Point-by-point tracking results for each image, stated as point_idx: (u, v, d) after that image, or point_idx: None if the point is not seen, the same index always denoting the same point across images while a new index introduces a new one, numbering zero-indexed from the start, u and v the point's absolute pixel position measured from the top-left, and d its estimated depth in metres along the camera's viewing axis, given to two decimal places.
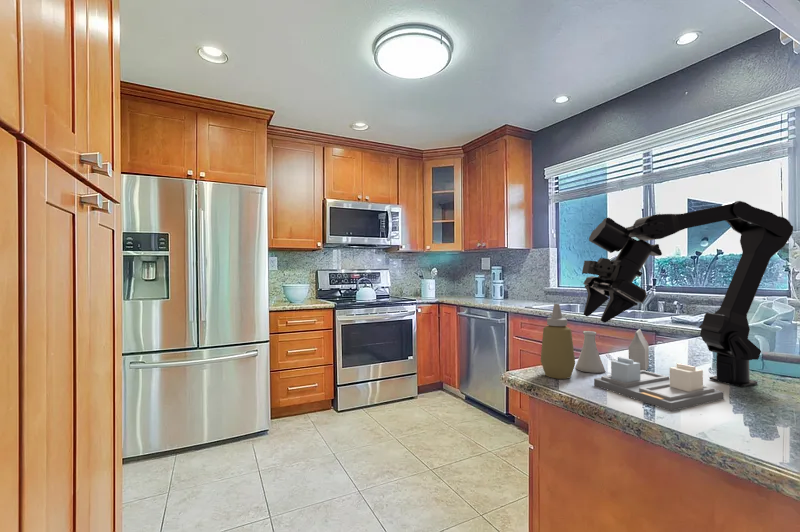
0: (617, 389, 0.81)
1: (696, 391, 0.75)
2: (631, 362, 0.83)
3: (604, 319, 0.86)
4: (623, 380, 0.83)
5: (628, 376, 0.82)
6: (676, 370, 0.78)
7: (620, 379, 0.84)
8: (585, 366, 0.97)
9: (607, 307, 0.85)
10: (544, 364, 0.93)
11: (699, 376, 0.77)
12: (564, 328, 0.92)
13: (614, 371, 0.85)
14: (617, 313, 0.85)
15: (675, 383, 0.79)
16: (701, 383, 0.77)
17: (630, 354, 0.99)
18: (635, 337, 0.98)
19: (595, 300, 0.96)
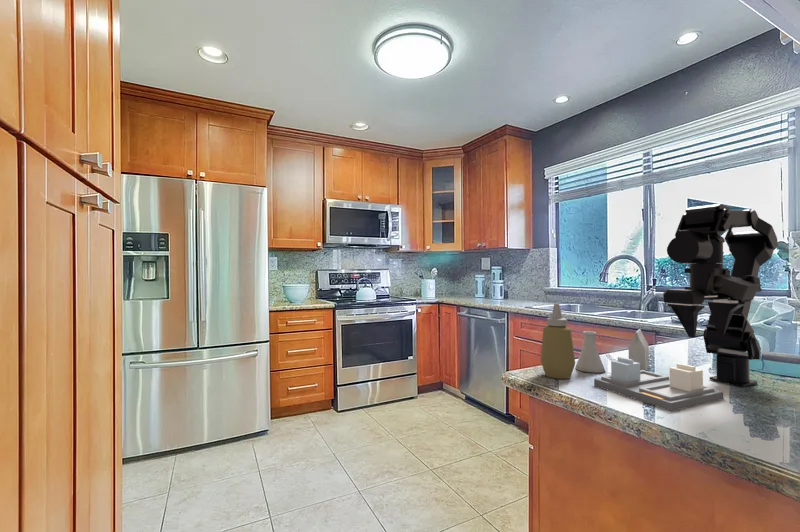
0: (617, 389, 0.81)
1: (696, 391, 0.75)
2: (631, 362, 0.83)
3: None
4: (623, 380, 0.83)
5: (628, 376, 0.82)
6: (676, 370, 0.78)
7: (620, 379, 0.84)
8: (585, 366, 0.97)
9: (728, 320, 0.82)
10: (544, 364, 0.93)
11: (699, 376, 0.77)
12: (564, 328, 0.92)
13: (614, 371, 0.85)
14: None
15: (675, 383, 0.79)
16: (701, 383, 0.77)
17: (630, 354, 0.99)
18: (635, 337, 0.98)
19: None
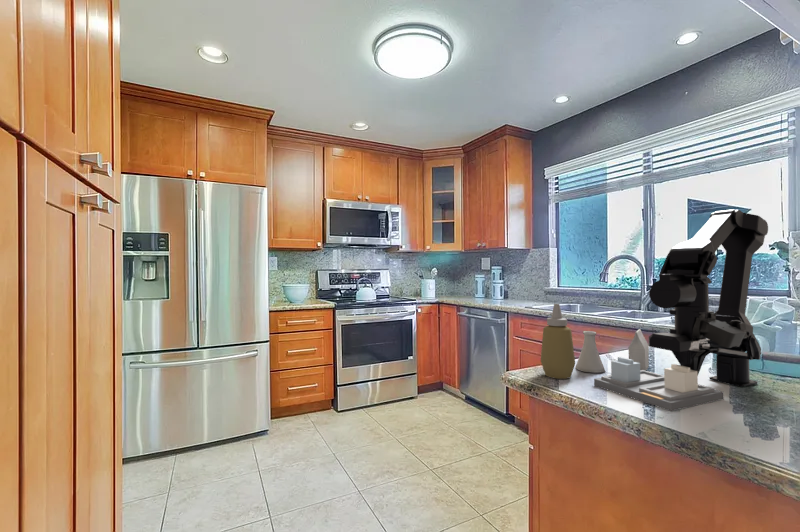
0: (617, 389, 0.81)
1: (696, 391, 0.75)
2: (631, 362, 0.83)
3: None
4: (623, 380, 0.83)
5: (628, 376, 0.82)
6: (671, 371, 0.78)
7: (620, 379, 0.84)
8: (585, 366, 0.97)
9: (700, 365, 0.78)
10: (544, 364, 0.93)
11: (694, 377, 0.76)
12: (564, 328, 0.92)
13: (614, 371, 0.85)
14: None
15: (670, 384, 0.78)
16: (696, 384, 0.77)
17: (630, 354, 0.99)
18: (635, 337, 0.98)
19: None
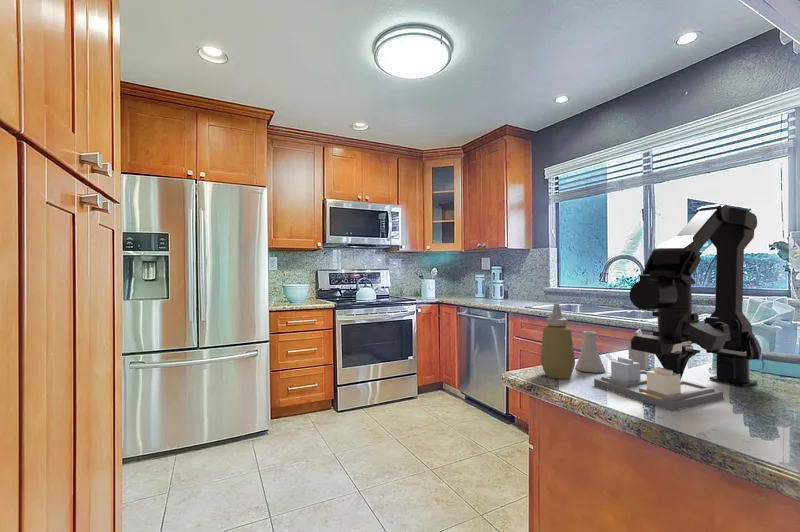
0: (617, 389, 0.81)
1: (696, 391, 0.75)
2: (631, 362, 0.83)
3: None
4: (623, 380, 0.83)
5: (628, 376, 0.82)
6: (653, 374, 0.76)
7: (620, 379, 0.84)
8: (585, 366, 0.97)
9: (683, 368, 0.76)
10: (544, 364, 0.93)
11: (677, 381, 0.74)
12: (564, 328, 0.92)
13: (614, 371, 0.85)
14: None
15: (652, 387, 0.76)
16: (678, 387, 0.75)
17: (630, 354, 0.99)
18: None
19: None
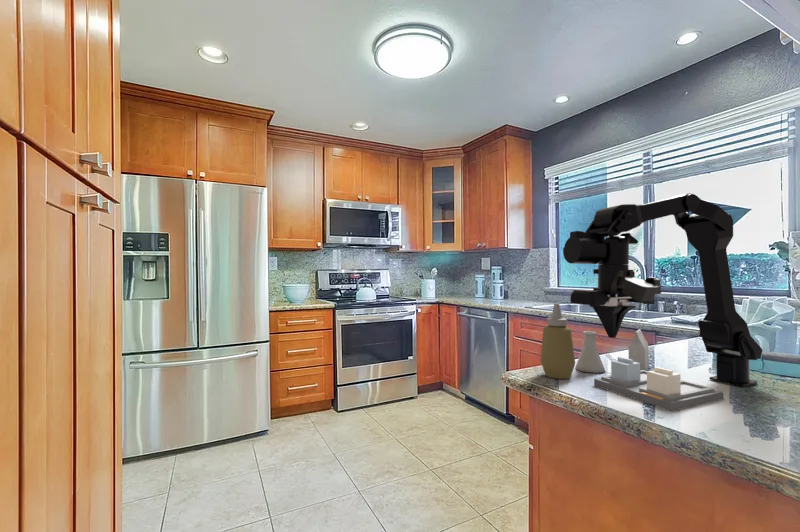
0: (617, 389, 0.81)
1: (696, 391, 0.75)
2: (631, 362, 0.83)
3: None
4: (623, 380, 0.83)
5: (628, 376, 0.82)
6: (653, 374, 0.76)
7: (620, 379, 0.84)
8: (585, 366, 0.97)
9: (620, 323, 0.80)
10: (544, 364, 0.93)
11: (677, 381, 0.74)
12: (564, 328, 0.92)
13: (614, 371, 0.85)
14: None
15: (652, 387, 0.76)
16: (678, 387, 0.75)
17: (630, 354, 0.99)
18: (635, 337, 0.99)
19: None
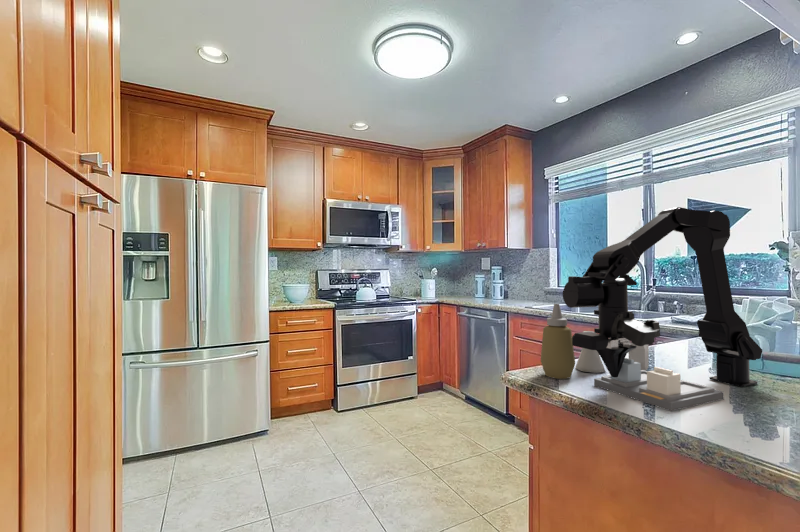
0: (617, 389, 0.81)
1: (696, 391, 0.75)
2: (631, 362, 0.83)
3: None
4: (623, 380, 0.83)
5: (629, 376, 0.82)
6: (653, 374, 0.76)
7: (620, 379, 0.84)
8: (585, 365, 0.97)
9: (621, 362, 0.83)
10: (544, 364, 0.93)
11: (677, 381, 0.74)
12: (564, 328, 0.92)
13: None
14: None
15: (652, 387, 0.76)
16: (678, 387, 0.75)
17: (630, 354, 0.99)
18: None
19: None
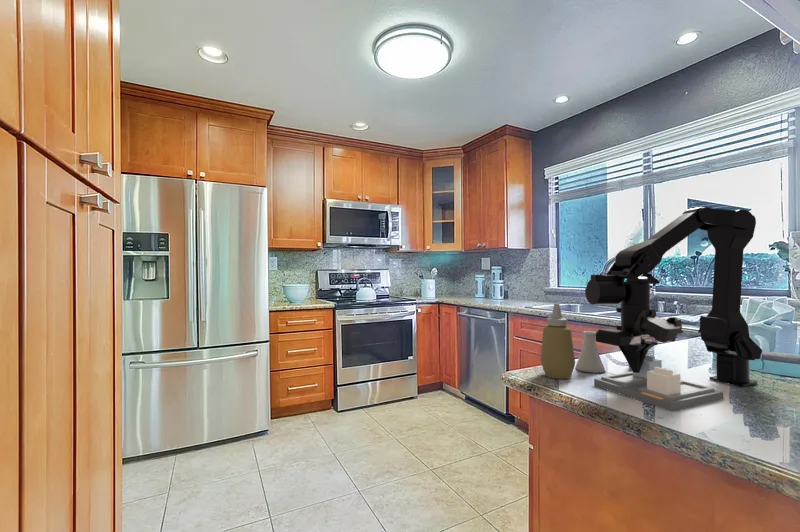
0: (617, 389, 0.81)
1: (696, 391, 0.75)
2: (653, 359, 0.86)
3: None
4: (645, 376, 0.86)
5: None
6: (653, 374, 0.76)
7: (642, 375, 0.86)
8: (585, 365, 0.97)
9: (643, 358, 0.85)
10: (544, 364, 0.93)
11: (677, 381, 0.74)
12: (564, 328, 0.92)
13: None
14: None
15: (652, 387, 0.76)
16: (678, 387, 0.75)
17: None
18: None
19: None
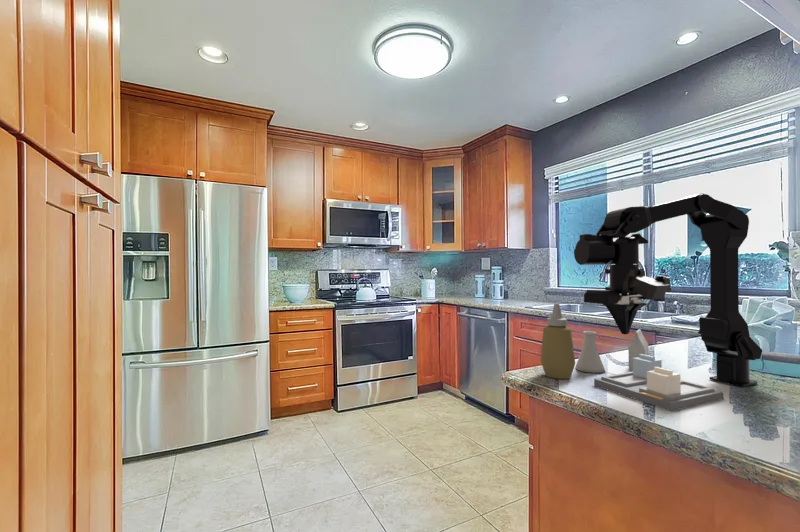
0: (617, 389, 0.81)
1: (696, 391, 0.75)
2: (653, 359, 0.86)
3: None
4: (645, 376, 0.86)
5: None
6: (653, 374, 0.76)
7: (642, 375, 0.86)
8: (585, 366, 0.97)
9: (632, 319, 0.84)
10: (544, 364, 0.93)
11: (677, 381, 0.74)
12: (564, 328, 0.92)
13: (636, 368, 0.87)
14: None
15: (652, 387, 0.76)
16: (678, 387, 0.75)
17: (630, 354, 0.99)
18: (635, 337, 0.99)
19: None
